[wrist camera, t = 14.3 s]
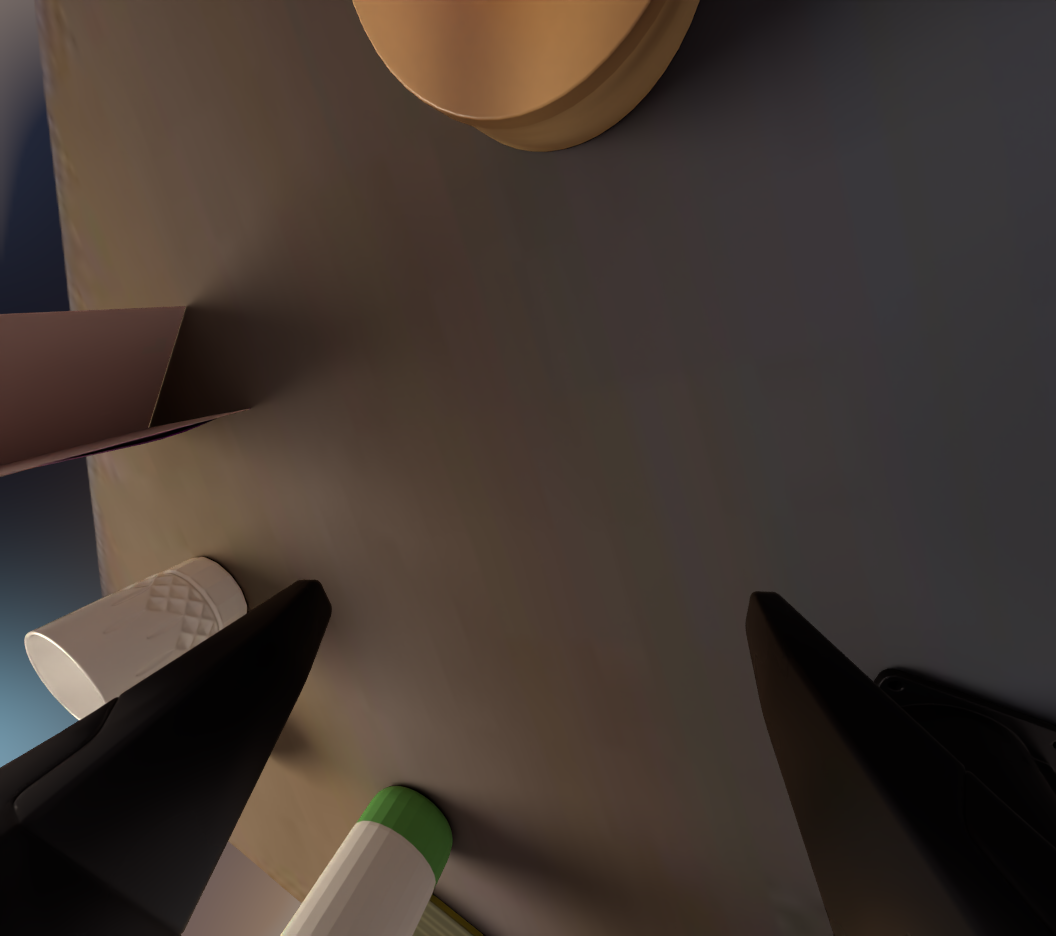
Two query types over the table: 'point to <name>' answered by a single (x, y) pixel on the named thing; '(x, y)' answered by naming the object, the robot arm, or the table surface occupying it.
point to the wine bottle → (379, 871)
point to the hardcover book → (443, 921)
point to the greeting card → (83, 383)
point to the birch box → (529, 60)
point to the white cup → (132, 633)
